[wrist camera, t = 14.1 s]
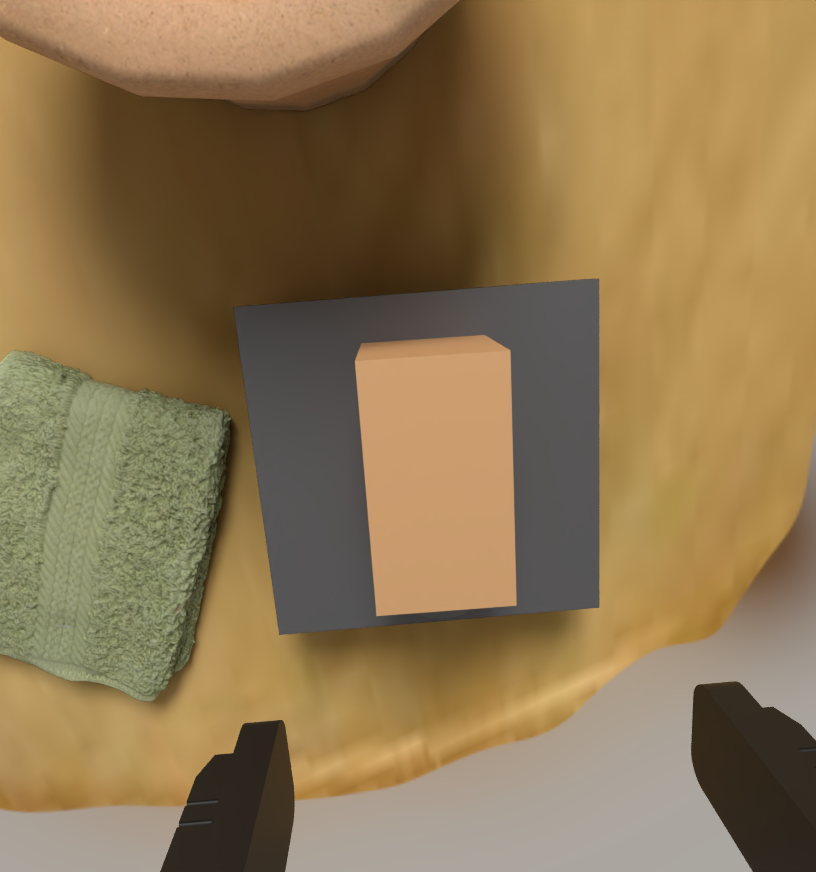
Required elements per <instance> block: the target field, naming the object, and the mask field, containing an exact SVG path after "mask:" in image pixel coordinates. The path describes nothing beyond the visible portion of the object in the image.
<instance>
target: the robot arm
mask: <svg viewBox="0 0 816 872" xmlns="http://www.w3.org/2000/svg"><path fill="white" fill-rule="evenodd" d="M691 755H692V762H693V767H694V771H695V774H696V777H697V780H698V782H699V784H700V786H701V788H702V790H703V791H704V793H705V795H706V796H707V798H708V799H709V801H710V803H711V804H712V806H713V808H714V809H715V811H716V812H717V814H718V816H719V817H720V819H721V820H722V822H723V824H724V825H725V827H726V829H727V830H728V832H729V834H730V835H731V837H732V838H733V840H734V842H735V843H736V845H737V847H738V848H739V850H740V851H741V853H742V855H743V856H744V858H745V860H746V861H747V863H748V864H749V866H750V868H751V869H752V871H753V872H816V740H815V739H814V738H813V737H812V736H811V735H810V734H809V733H808V732H807V731H806V730H805V728H804V727H802V725H801V724H799V723H798V722H796V721H794V720H793V719H791V718H790V717H788V716H786V715H785V714H783V713H781V712H780V711H779V710H777V709H775V708H774V707H766V708H762V707H761V706H760V705H759V703H758V702H757V701H756V700H755V699H754V698H753V696H751V694H750V693H749V692H748V691H747V690H746V689H745V687H744V686H743V685H742V684H740V683H739V682H723V683H712V684H700V685H697V686H696V688H695V690H694V696H693V720H692V743H691ZM293 819H294V785H293V777H292V770H291V763H290V757H289V750H288V743H287V736H286V729H285V724H284V722H283V720H277V721H266V722H254V723H245V724H243V726H242V728H241V731H240V734H239V737H238V740H237V743H236V746H235V750H234V753H231V754H220V755H215V756H214V757H213V758H212V759H211V760H210V761H209V763H208V764H207V765H206V766H205V767H204V768H203V769H202V771H201V772H200V773H199V774H198V775H197V776H196V778H195V781H194V784H193V786H192V789H191V792H190V794H189V797H188V800H187V806H186V807H185V808H184V810H183V813H182V816H181V818H180V821H179V827H177V829H176V832H175V834H174V837H173V839H172V842H171V845H170V847H169V850H168V853H167V855H166V858H165V861H164V863H163V866H162V869H161V871H160V872H285V869H286V863H287V857H288V851H289V845H290V839H291V832H292V827H293Z"/></svg>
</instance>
